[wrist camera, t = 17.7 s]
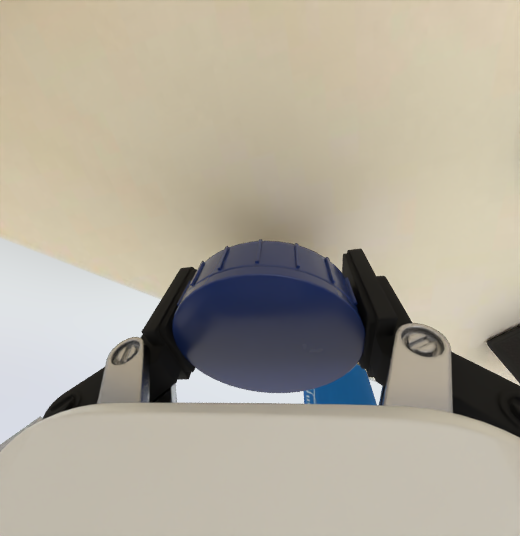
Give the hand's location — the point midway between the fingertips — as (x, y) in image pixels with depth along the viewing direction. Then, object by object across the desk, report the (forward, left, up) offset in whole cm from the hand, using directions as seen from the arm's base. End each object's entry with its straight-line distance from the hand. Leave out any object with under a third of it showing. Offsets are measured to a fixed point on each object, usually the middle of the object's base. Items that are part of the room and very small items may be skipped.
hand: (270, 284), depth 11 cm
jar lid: (0, 0, +3) cm, 3 cm away
